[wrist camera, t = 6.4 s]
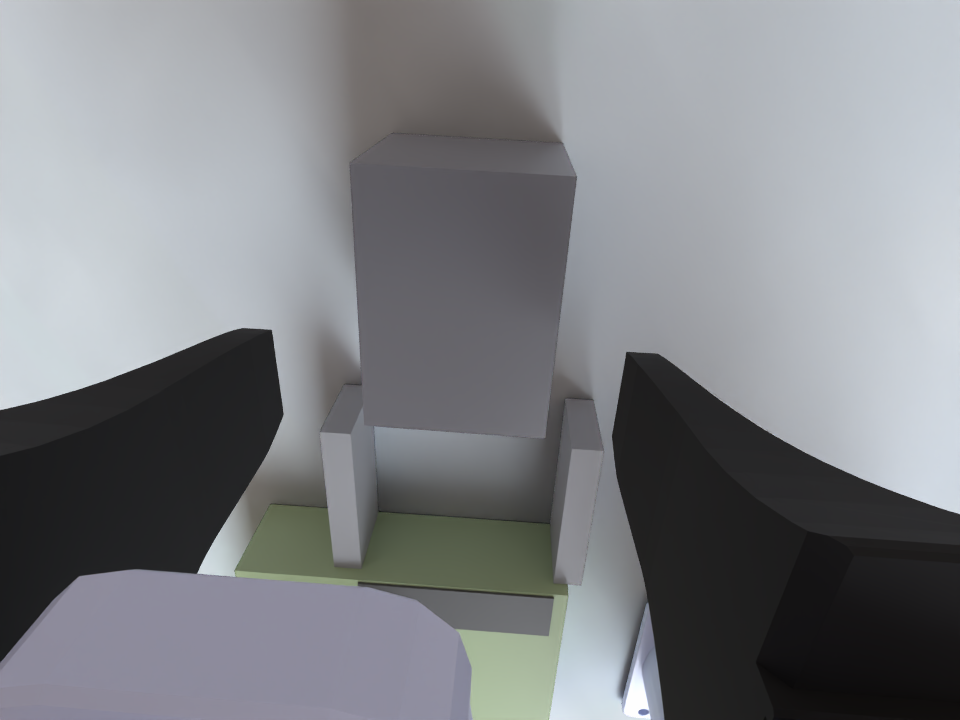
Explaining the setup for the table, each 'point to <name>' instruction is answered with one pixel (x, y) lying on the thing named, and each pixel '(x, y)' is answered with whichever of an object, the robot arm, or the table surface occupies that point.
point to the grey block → (460, 280)
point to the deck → (448, 557)
